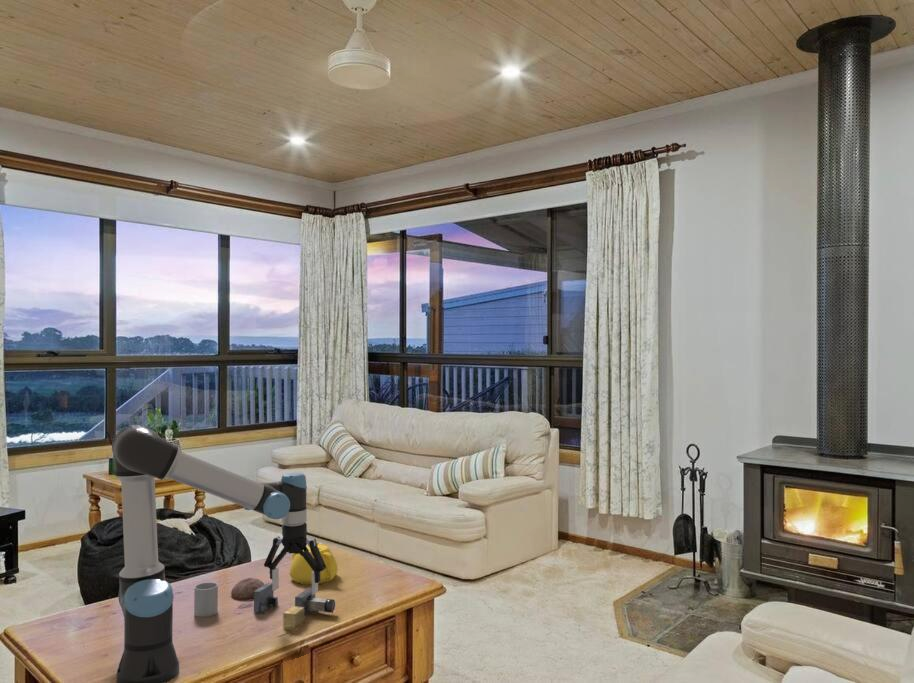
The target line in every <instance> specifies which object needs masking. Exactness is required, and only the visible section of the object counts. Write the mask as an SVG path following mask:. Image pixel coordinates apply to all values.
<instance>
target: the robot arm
mask: <svg viewBox="0 0 914 683" xmlns="http://www.w3.org/2000/svg"><path fill="white" fill-rule="evenodd" d="M111 452H112V454H113V461H114V462H113V463H114V464H113V465H114V477H115V478H116V479H118V480H119V481H120V482H121V484H120V485H121V486H120V487H121V505H122V506H121V507H122V508H121V509H122V531H123V532H122V533H123V551H124V552H123V554H124V567H123V568H122V569H121V570H120V571H119V573H118V576H119V589H118V603H119V605H120V607H121V611H122V614H123V619H124V620H123V621H124V628H123V629H124V630H123V631H124V633H123V634H124V638H123V639H124V640H123V641H124V646H123V652H122V656H121V658H120V660H119V664H118V668H117V669H116V683H167V682H169V681H171V680H172V679H174V678H175V677H177V675H178V674H179V672H180V660H179V658H178V656H177V653H176V649H175V646H174V643H173V624H174V623H173V622H174V621H173V618H174V617H173V614H174V613H173V609H174V608H173V607H174V605H173V604H174V603H173V602H174V597H175V596H174V595H175V594H174V592H173V591H174V590H173V587H172V585H171V583H170V582H168V581H166V575H165V564H163V563H161V562H160V561H159V548H158V547H159V546H158V524H157V505H156V504H157V502H156V501H157V497H156V479H159V480H161V481H163V480H166V479H170V480H172V481H175V482H178V483H181V484H184V485H186V486H187V487H191V488H193V489H196V490H199V491H202V492H205V493H206V494H210V495H212V496H215V497H217V498H220V499H222V500H226V501H228V502H230V503H234V504H236V505H239V506H241V507H242V508H243V509H244V510H245V511H254V512H257V513H259V514H262V515H264V516H266V517H267V518H269V519H271V520H281V523H282V525H281V528H282V529H281V530H282V531H281V535H282V537H281V536H280V535H279V536H276V537H274V538H273V539H272V546H271V548H270V550H269V552H268V555H267V556H266V559H265V562H264V564H263V567H265V568H268V569H269V578H270V580H271V581H272V582H271V583H272V591H273V592H275V591H277V590H278V589H279V588H280V586H279V585H280V581H279V580H280V578H279V576H280V574H279V567H278V565H279V563H280V562H281V561H282V560H283V558H284V557H285V556H286V555H287V553H288V554H290V555H291V554H293V553H294V554H299V553H300V555H301V556H303V557H304V559H305V560H306V561H307V563H308V564H309V566H310V567H311V568H312V570H313V571H314V572H313V573H312V585H311V588H312V594H315V595H316V594H317V593H318V592H319V584H318V582H320V572H321V571H323V570H324V569H326V565H325V563H324V560H323V558H322V556H321V554H320V552H319V549H318V547H317V542H318V541H317V539H316V538H313V539H308V538H307V534H308V524H307V519H308V517H307V510H308V509H307V489H308V488H307V477H306V476H307V475H305V474H304V473H302V472H289V473H288V472H287V473H284V474H282V476H281V479H280V480H279V481H276V482H275V481H274V482H263V483H260V482H257V481H254V480H253V479H250V478H247V477H244V476H242V475H240V474H238V473H234V472H232V471H231V470H227V469H224V468H222V467H220V466H217V465H215V464H214V463H213V464H212V463H210V462H207V461H205V460H202V459H200V458H197V457H195V456H193V455H190V454H187V453H185V452H183V451H181V448H180V446H178V445H176V444H174V443H171V442H169V441H168V440H166V439H164V438H163V437H162V436H160V435H159V434H157V433H156V432H155V430H153V429H152V428H150V427H149V426H146V425H144V424H132V425H129V426H126V427H124V428H122V429H120V430H119V431H118V432H117V433H116V435H115V436H114V438H113V440H112V443H111ZM316 541H317V542H316ZM280 545H282V546H283V548H282V550H281V551H280V552H279V554H278V555H277V556H276V554H277V551H278V549H279V548H280ZM307 545H308V547H310V550H311V552H312V555H313V557H314V558H313V557H312V555H311V554H310V552H309V550H308V548H307V547H306V546H307ZM303 550H304V551H303ZM275 556H276V558H275ZM274 558H275V559H274Z"/></svg>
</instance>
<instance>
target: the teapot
mask: <svg viewBox="0 0 914 683" xmlns="http://www.w3.org/2000/svg"><path fill="white" fill-rule="evenodd" d="M316 542H317V547H318V549H319V552H320V554H321V556H322V558H323V560H324V563H325V565H326V569H324V570H323V571H321V572H320V582H318V585H322V584H325V582H326V583H328V582H330V581H332V580H333V579H334V578H335V577H336V575H337V573H338V570H339V569H338V563H337V560H336V557H335V556H334V554H333V553H332V551H331V549H330V547H328V546H327V545H326V544H325V545H324V544H319V541H317V540H316ZM306 547H307V548H308V550H309V552H310V554H311V555H312V552H311V550H310V547H308V544H307V545H306ZM303 551H304V550H303ZM312 557H313V555H312ZM313 558H314V557H313ZM313 572H314V571H313V570H312V568H311V567H310V566H309V564H308V563H307V561H306V560H305V559H304V557H303V556H301V555H300V553H299V554H294V553H292V560H291V564H290V568H289V575H290V576H289V577H291V578H290V579H292V580H293V581H294V582H295V583H297V584H299V583H300V585H305V584H306V585H305V586H307V585H309V586H310V585H311V586H312V573H313Z"/></svg>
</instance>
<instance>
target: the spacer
mask: <svg viewBox="0 0 914 683" xmlns="http://www.w3.org/2000/svg"><path fill="white" fill-rule="evenodd" d="M282 619H283V628H282V629H283V630H289V631H290V630H291V631H296V630H297V629H299V628H300V627H301V626H303V625H304V624H305V616H304V607H297V606H295V605H292V606H291V607H289V608H288V609H287V610H286V611H284V612H283V618H282Z"/></svg>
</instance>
